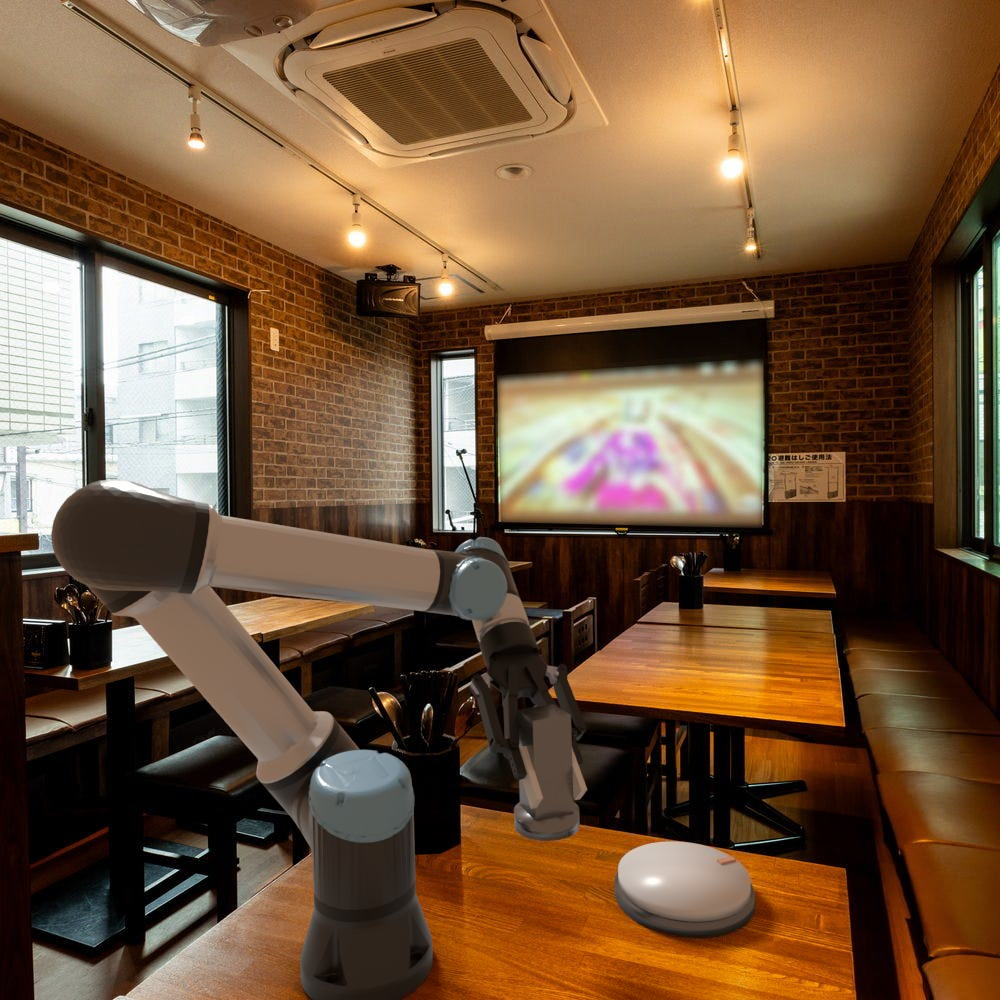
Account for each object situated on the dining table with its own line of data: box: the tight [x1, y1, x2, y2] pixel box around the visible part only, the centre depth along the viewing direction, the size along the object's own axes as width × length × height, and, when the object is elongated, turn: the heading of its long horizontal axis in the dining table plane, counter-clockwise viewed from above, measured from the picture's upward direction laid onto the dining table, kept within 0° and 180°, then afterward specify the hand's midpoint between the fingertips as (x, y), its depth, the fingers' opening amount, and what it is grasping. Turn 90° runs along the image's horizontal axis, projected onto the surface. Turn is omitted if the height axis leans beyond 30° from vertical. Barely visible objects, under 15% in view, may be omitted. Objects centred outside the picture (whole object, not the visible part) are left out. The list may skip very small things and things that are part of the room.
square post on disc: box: [513, 704, 580, 842], centre depth 91 cm, size 8×8×14 cm
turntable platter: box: [617, 841, 751, 922], centre depth 99 cm, size 17×17×2 cm
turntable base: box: [614, 871, 756, 939], centre depth 99 cm, size 18×18×2 cm
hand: (559, 798), depth 88 cm, fingers closed on square post on disc, 5 cm apart
